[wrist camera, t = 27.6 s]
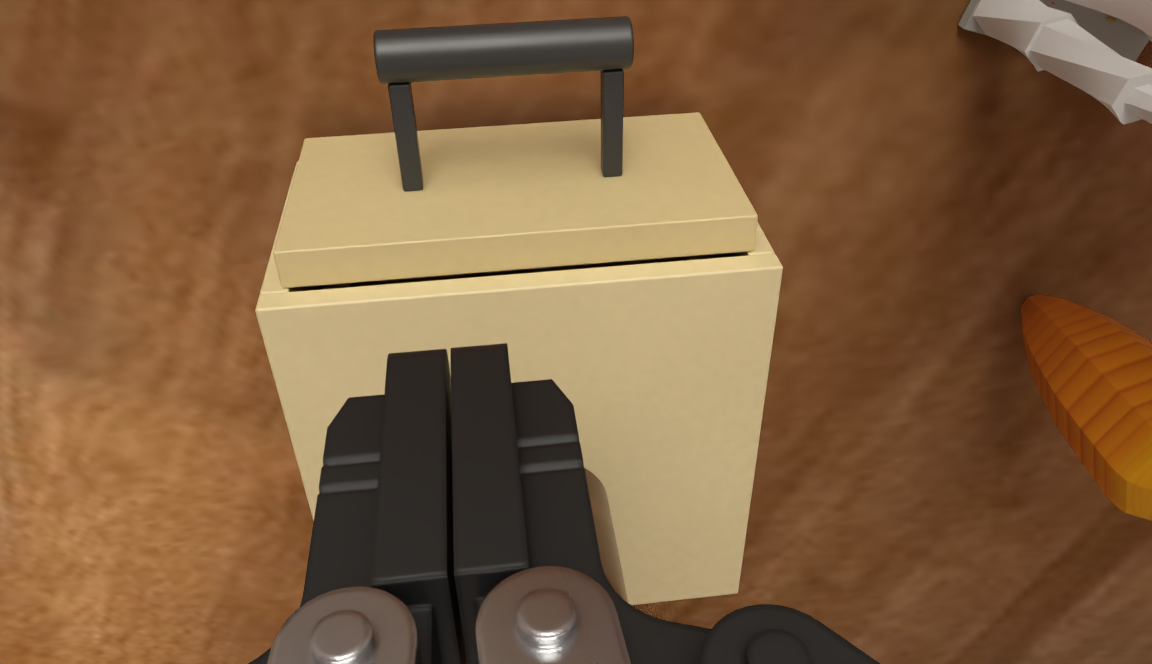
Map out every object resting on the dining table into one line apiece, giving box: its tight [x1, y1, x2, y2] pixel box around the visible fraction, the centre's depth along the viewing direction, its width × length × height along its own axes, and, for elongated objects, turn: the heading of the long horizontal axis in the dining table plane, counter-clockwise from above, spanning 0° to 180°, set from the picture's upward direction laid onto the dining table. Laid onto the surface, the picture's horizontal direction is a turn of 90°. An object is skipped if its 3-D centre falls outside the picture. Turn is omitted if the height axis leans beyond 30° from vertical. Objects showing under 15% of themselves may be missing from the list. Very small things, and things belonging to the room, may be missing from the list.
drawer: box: [273, 16, 758, 289], centre depth 31 cm, size 18×13×7 cm
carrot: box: [1021, 294, 1152, 521], centre depth 34 cm, size 5×5×15 cm
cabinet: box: [255, 161, 783, 605], centre depth 33 cm, size 15×15×9 cm
